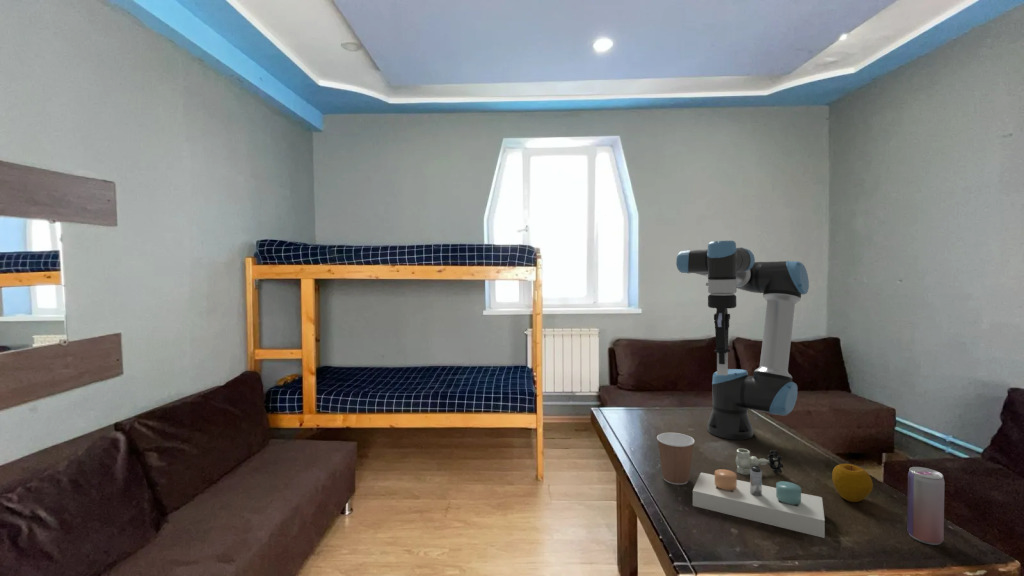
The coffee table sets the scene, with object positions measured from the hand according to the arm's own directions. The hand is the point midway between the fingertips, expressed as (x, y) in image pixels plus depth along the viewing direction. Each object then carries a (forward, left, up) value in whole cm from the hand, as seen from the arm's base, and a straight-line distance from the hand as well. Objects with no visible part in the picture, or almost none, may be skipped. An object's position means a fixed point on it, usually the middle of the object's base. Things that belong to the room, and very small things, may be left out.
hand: (722, 374), depth 132 cm
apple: (-1, +31, -30) cm, 43 cm away
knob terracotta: (+17, +3, -29) cm, 34 cm away
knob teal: (+17, +17, -29) cm, 38 cm away
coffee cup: (+10, -11, -30) cm, 34 cm away
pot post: (+17, +10, -26) cm, 32 cm away
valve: (-7, +8, -30) cm, 32 cm away
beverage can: (+12, +43, -30) cm, 54 cm away
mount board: (+17, +10, -30) cm, 36 cm away
